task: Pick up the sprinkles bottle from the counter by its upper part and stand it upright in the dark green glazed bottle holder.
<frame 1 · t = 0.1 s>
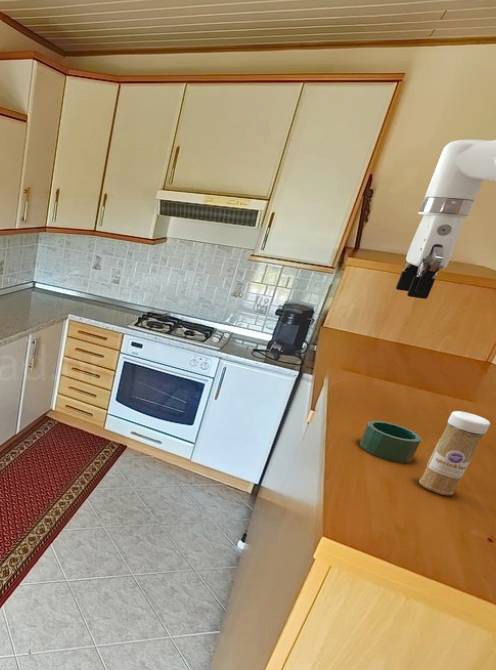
hand: (410, 293, 103), 27 cm above the worktop, tool pointing down, fingers open, 9 cm apart
holder: (385, 451, 93), on the worktop
sprinkles bottle: (435, 489, 81), on the worktop
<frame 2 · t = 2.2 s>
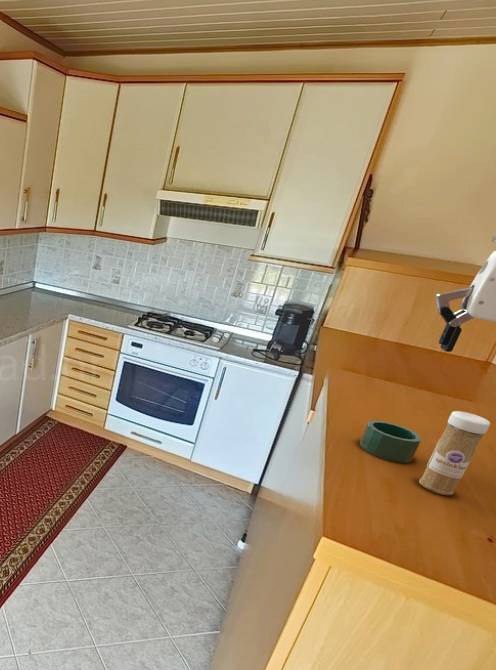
hand: (484, 357, 76), 22 cm above the worktop, tool pointing down, fingers open, 9 cm apart
nothing on the worktop moved.
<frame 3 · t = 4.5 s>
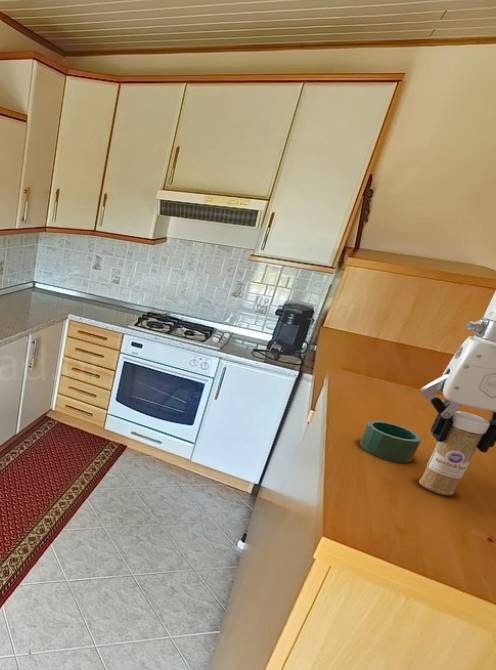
hand: (458, 442, 78), 9 cm above the worktop, tool pointing down, fingers closed on sprinkles bottle, 4 cm apart
sprinkles bottle: (435, 489, 81), on the worktop, touching gripper
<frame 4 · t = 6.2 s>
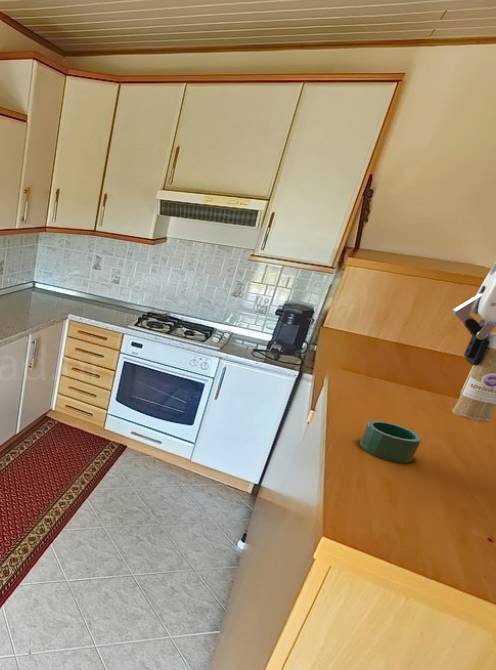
hand: (494, 365, 74), 22 cm above the worktop, tool pointing down, fingers closed on sprinkles bottle, 4 cm apart
sprinkles bottle: (469, 418, 77), point 13 cm above the worktop, touching gripper
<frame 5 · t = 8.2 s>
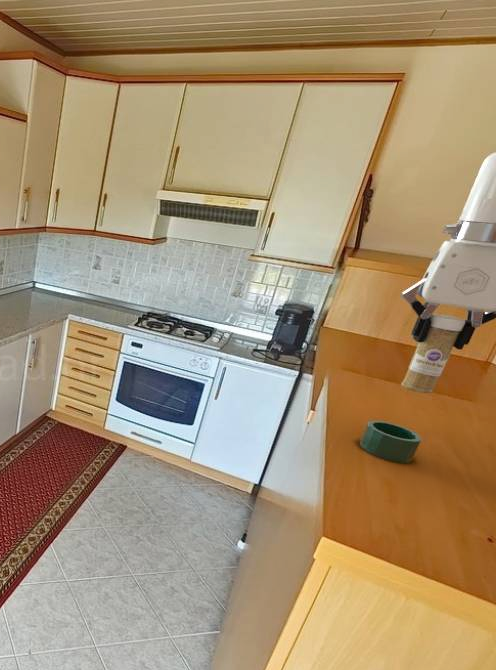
hand: (437, 342, 84), 22 cm above the worktop, tool pointing down, fingers closed on sprinkles bottle, 4 cm apart
sprinkles bottle: (416, 390, 87), point 13 cm above the worktop, touching gripper
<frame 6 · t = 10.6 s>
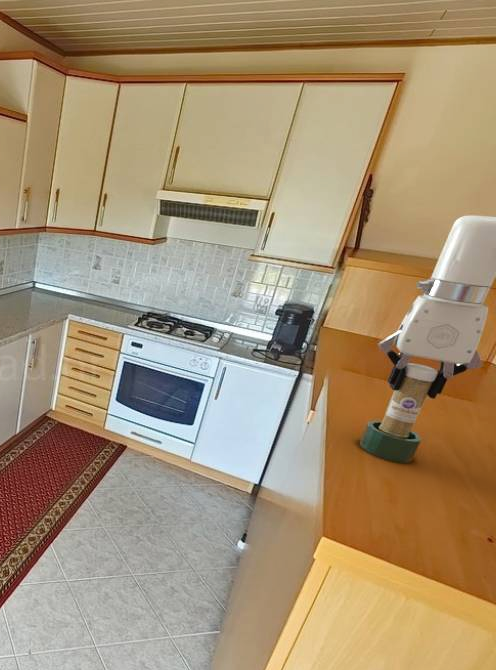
hand: (411, 390, 88), 13 cm above the worktop, tool pointing down, fingers closed on sprinkles bottle, 4 cm apart
sprinkles bottle: (392, 434, 91), point 4 cm above the worktop, touching gripper
when the fingers open (9 cm above the worktop, at t = 12.1 s): sprinkles bottle stays where it is, resting on holder.
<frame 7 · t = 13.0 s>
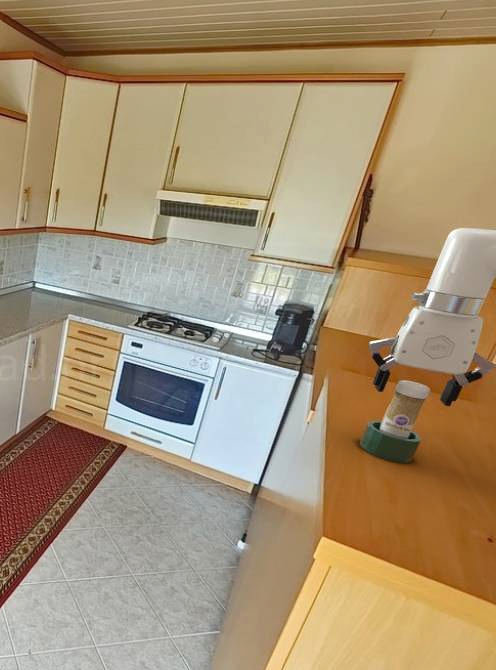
hand: (410, 396, 88), 12 cm above the worktop, tool pointing down, fingers open, 9 cm apart
sprinkles bottle: (385, 450, 93), resting on holder
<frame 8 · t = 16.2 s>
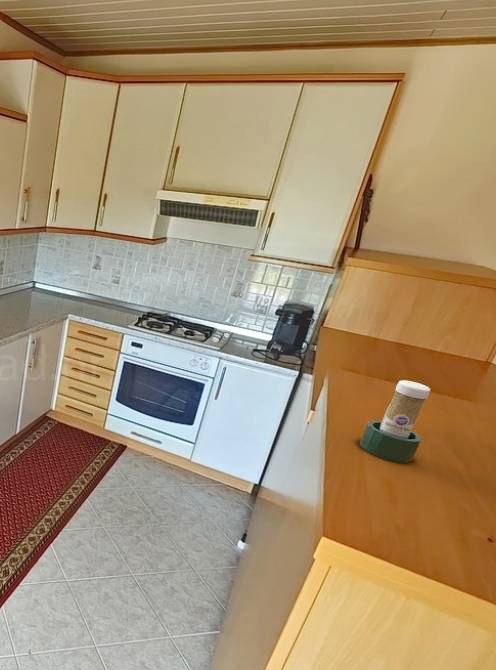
nothing on the worktop moved.
at the end: sprinkles bottle 0.1 cm off-centre in the holder, point 0.3 cm above the holder's base; sprinkles bottle tilted 0° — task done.
